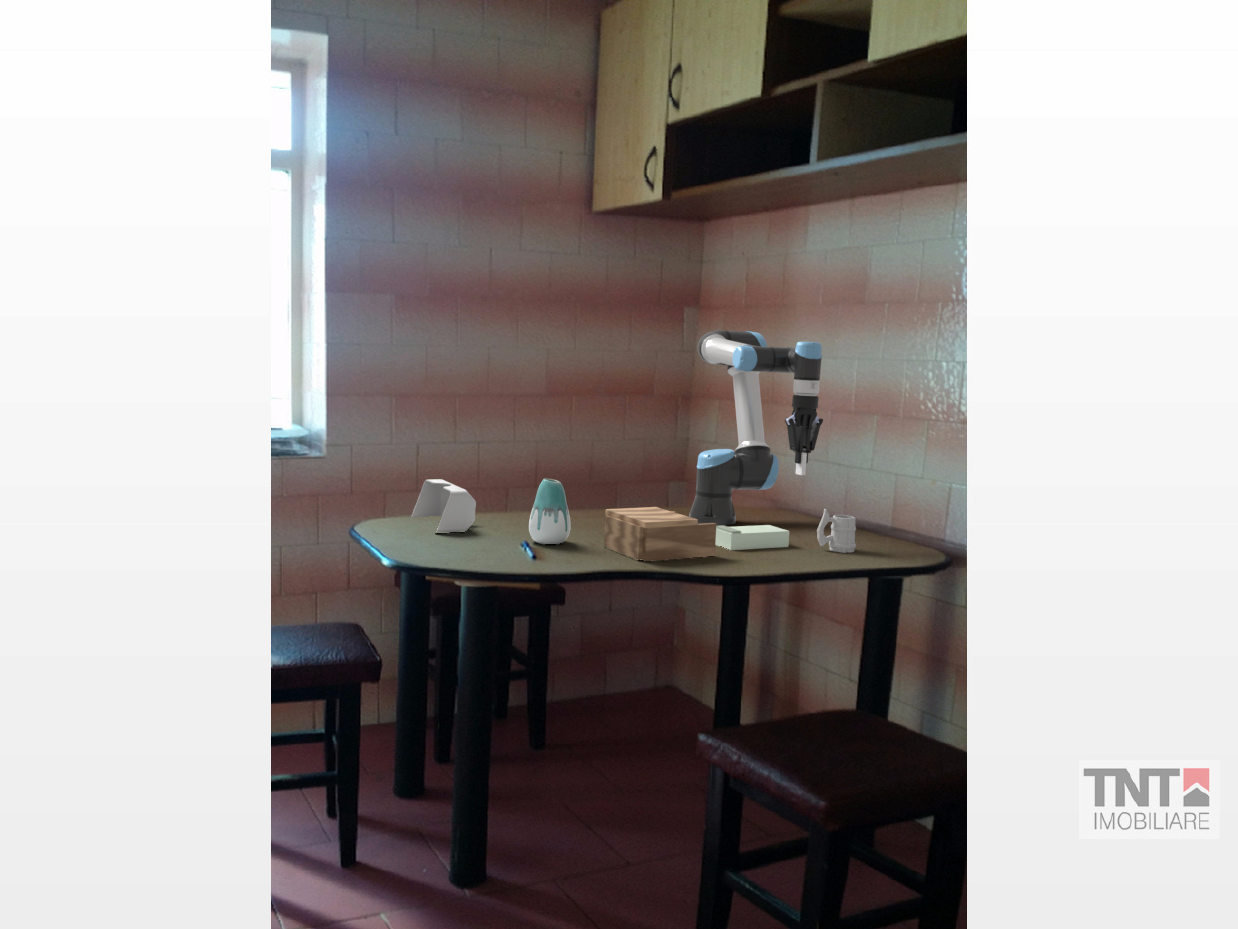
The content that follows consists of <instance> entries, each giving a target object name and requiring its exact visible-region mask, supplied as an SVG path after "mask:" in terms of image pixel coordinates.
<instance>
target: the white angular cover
mask: <svg viewBox="0 0 1238 929" xmlns="http://www.w3.org/2000/svg"><path fill="white" fill-rule="evenodd" d="M476 508H477V502H476V500H475V499H474V497H473V496H472V495H471V494H470V493H469V491H468V490H467V489H465V488H462V487H460V486H458V485H455V484H454V483H452V482H449V481H446V480H444V479H443V478H441V479H439V478H437V479H436V478H435V479H434V478H433V479H425V481H424V482H423V484H422V487H421V490H420V493H419V495H418V498H417V501H416V504H415V506H414V507H413V512H412V513H411V517H428V516H442V518H441V520H440V523H439V526H438V528H437V531H436V532H460V531H466V532H467V531H468V529H470V527H471V526H472V525H473V523H474V522H475V520H476ZM411 517H410V518H411Z"/></svg>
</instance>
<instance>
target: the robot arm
mask: <svg viewBox="0 0 1238 929" xmlns="http://www.w3.org/2000/svg"><path fill="white" fill-rule="evenodd" d="M767 344H768V343H767V341H766V339H765V337H764V335H762V334H761V333H760V332H755V331H751V330H750V331H749V330H746V331H745V330H741V331H740V330H724V329H717V330H715V329H714V330H712V331H709V332H706V333H705V334H703V335H702V336H701V337H700V339H699V341H698V343H697V350H696V351H697V353H698V356H699V357H700V359H702V361H703V362H706V363H708V364H711V365H716V366H725V367H726V366H727V373H728V374H729V375H730V376H731V377H732V382H733V384H732V385H733V396H734V405H735V406H734V407H735V416H736V418H735V419H736V428H737V438H738V439H737V440H738V445H737V446H736V448H735V449H730V448H715V449H709V450H704V451H702V452H700V453H699V454H698V457H697V465H696V482H695V483H696V486H695V497H694V500H693V503H692V504H691V505H692V506H691V508H690V510H689V513H688V517H691V518H694V519H698V524H704V523H715V524H717V525H716V526H722V525H724V526H729V525H734V524H736V521H737V519H736V518H737V516H736V511H735V508H734V504H733V501H732V499H733V498H732V496H733V495H732V494H733V490H734V491H735V490H743V491H745V490H746V491H747V490H750V491H753V490H755V491H760V490H761V491H762V490H769V489H771V488H772V487H774V485H775V483H776V482H777V479H778V475H779V469H780V468H779V466H780V462H779V458H778V457H777V455H776V454H773V453H771V446H769V445H768V444H767V443H766V441H765V439H766V438H765V431H764V430H765V429H764V419H763V408H762V407H763V406H762V398H761V397H762V396H761V387H760V377H759V375H760V373H761V372H765V373H781V374H782V373H784V374H785V373H786V374H793V384H792V385H793V386H792V393H794V394H793V395H792V403H791V406H792V409H793V410H792V412H791V415H790V416H789V417H785V418H784V422H785V425H786V428H787V436H788V438H787V439H788V445H789V450H790V451H792V452H794V453H795V455H794V463H795V475H798V476H806V470H807V464H808V462H809V454H811V453H812V451H814V450H815V448H816V444H817V439H818V436H819V432H820V430H821V429H820V428H821V426H822V424H823V423H824V419H823V418H821V417H819V416H818V413H817V409H818V408H819V396H818V395H819V394H820V380H821V368H822V358H823V353H822V348H823V347H822V346H823V345H822V343H821V342H818V341H817V342H816V341H797V343H796V344H795V347H788V346H787V347H780V346H779V347H777V346H768V345H767Z"/></svg>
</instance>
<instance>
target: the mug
mask: <svg viewBox="0 0 1238 929" xmlns="http://www.w3.org/2000/svg"><path fill="white" fill-rule="evenodd" d="M829 513H830V512H828V509H826V508H824V509H823V513H822V514H823V515H822V517H821V519H820V522H819V523H818V524H819V525H818V527H817V529H816V533H817V536H816V537H817V541H818V544H819V546H820V547H824V546H825V545H826V544H827V543H828V546H829V551H832V552H834V553H837V552H838V553H845V554H846V553H850V554H851V553H854V552H855V548H857V547H856V546H857V544H856V541H855V540H856V531H857V526H856V517H855V516H852V515H847V514H833V516H832V517H831V516H830V514H829ZM829 522H831V524H830V529H831V530H830V531H831V533H830V534H829V535H827V536H826V535H825V534H824V533H825V528H826V526H827V525H828V523H829Z"/></svg>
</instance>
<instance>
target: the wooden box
mask: <svg viewBox="0 0 1238 929" xmlns="http://www.w3.org/2000/svg"><path fill="white" fill-rule="evenodd" d="M604 512H605V513H604V514H605V522H604V523H605V524H604V542H603V544H604V545H603V547H604V546H606V547H608V548H610V549H613V550H615V551H617V552H620V553H622V554H625V555H627V556H631V557H634V558H636V559H639V560H640V559H643V560H645V561H651V560H664V561H667V560H666V559H677V560H681V559H680V558H690V559H693V558H692V557H703V558H708V557H707V556H715V554H716V545H715V542H716V526H718V525H717V524H715V523H704V524H699V523H698V519H694V518H691V517H689V515H684V514H680V513H678V512H677V511H674V510H671V511H670V510H668V509H663V508H660V507H658V506H650V507H646V506H645V507H628V508H626V507H625V508H607V509H605V511H604ZM645 561H644V562H645ZM651 562H652V561H651Z"/></svg>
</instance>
